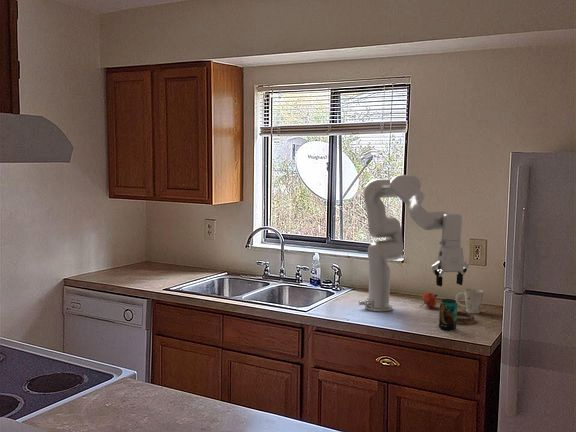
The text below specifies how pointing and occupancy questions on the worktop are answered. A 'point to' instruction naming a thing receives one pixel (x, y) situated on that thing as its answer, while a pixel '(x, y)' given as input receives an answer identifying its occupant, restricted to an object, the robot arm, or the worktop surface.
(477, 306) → the mug
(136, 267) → the worktop surface
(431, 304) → the pomegranate
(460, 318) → the tray
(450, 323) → the beverage can
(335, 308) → the worktop surface
